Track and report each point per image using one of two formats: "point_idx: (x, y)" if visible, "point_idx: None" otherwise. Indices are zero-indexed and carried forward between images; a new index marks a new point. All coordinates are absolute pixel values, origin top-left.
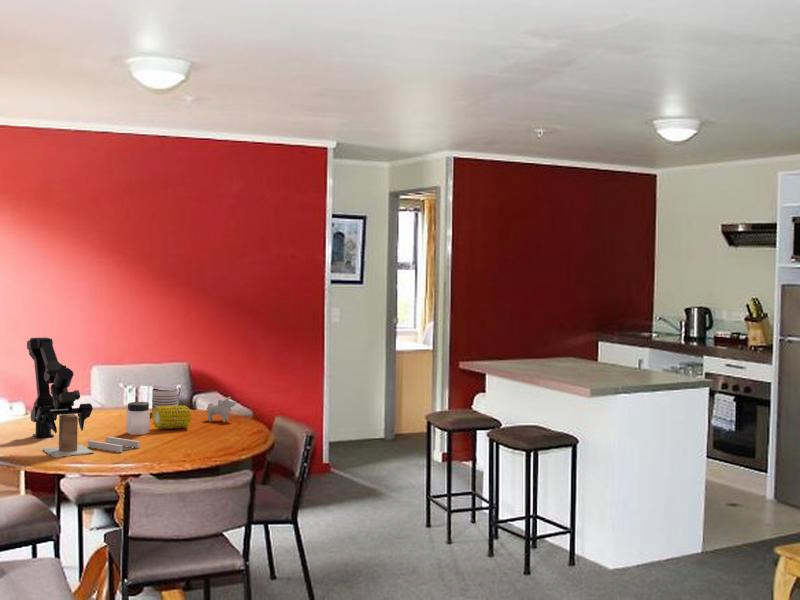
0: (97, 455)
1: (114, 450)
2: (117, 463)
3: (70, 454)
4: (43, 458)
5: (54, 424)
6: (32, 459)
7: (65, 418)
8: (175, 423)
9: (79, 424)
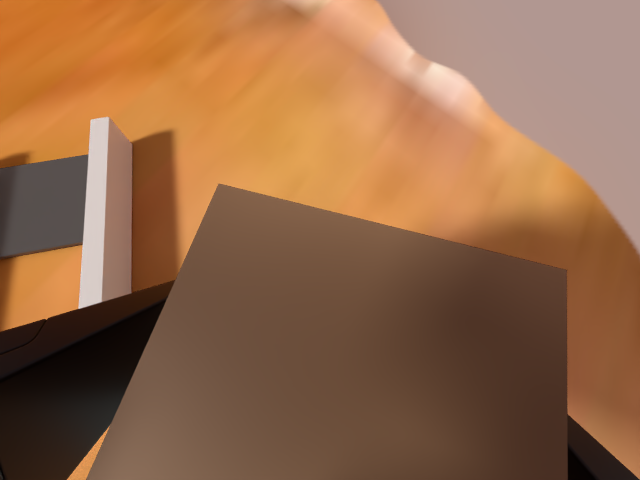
0: (256, 169)
1: (128, 176)
2: (297, 7)
3: None
4: None
5: (596, 465)
6: (607, 330)
7: (495, 265)
8: None
9: (91, 444)
